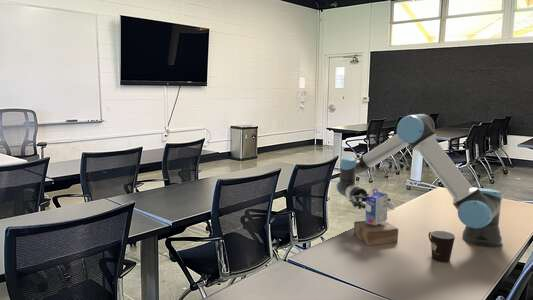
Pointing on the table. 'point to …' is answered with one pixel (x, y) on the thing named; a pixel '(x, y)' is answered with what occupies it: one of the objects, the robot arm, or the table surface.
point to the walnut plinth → (376, 232)
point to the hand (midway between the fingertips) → (381, 207)
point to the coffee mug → (441, 245)
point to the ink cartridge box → (377, 207)
